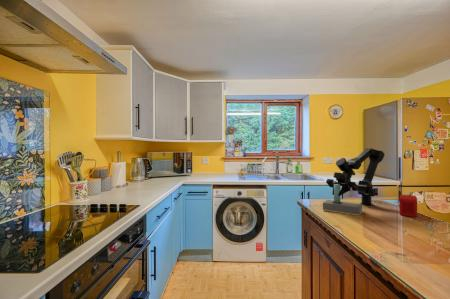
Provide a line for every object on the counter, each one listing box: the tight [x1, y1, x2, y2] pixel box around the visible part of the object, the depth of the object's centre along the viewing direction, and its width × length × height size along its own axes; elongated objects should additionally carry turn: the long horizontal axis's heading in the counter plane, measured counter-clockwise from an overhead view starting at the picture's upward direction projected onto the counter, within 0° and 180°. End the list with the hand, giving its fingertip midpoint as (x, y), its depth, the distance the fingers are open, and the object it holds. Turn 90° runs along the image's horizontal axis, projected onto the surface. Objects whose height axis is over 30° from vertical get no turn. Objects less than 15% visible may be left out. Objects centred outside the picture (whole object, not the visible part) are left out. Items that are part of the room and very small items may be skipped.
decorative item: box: [397, 194, 418, 218], centre depth 136 cm, size 15×9×10 cm, turn 141°
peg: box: [333, 184, 341, 204], centre depth 146 cm, size 4×4×13 cm
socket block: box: [322, 199, 363, 216], centre depth 144 cm, size 10×20×4 cm, turn 51°
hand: (335, 195), depth 145 cm, fingers closed on peg, 4 cm apart
